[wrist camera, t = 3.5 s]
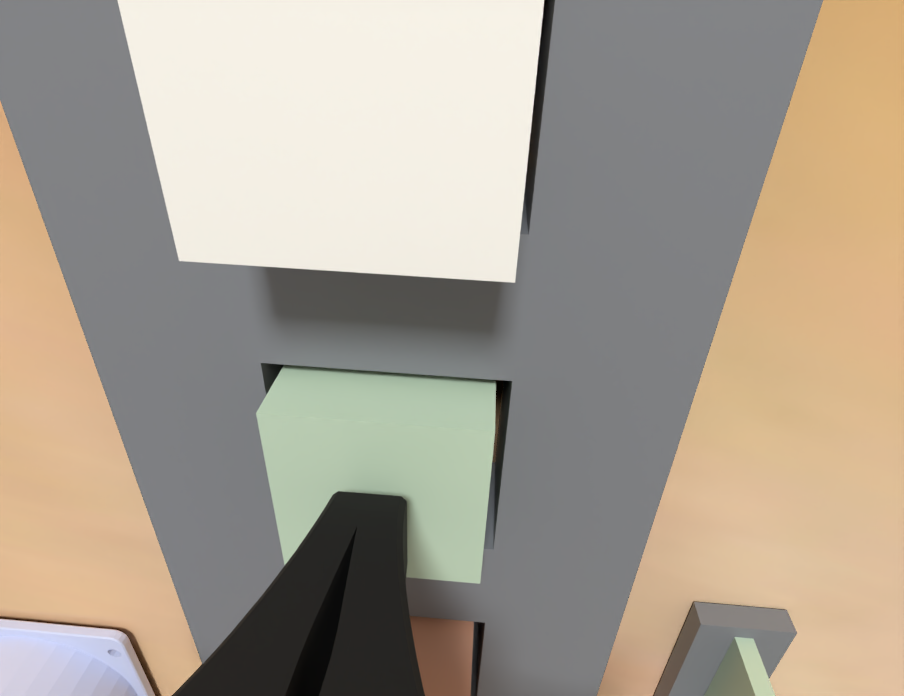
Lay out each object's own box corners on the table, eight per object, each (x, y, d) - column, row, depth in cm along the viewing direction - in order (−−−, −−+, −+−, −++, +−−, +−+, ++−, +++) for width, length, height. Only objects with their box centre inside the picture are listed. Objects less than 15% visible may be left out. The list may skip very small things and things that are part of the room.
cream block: (511, 189, 11) (514, 282, 7) (279, 175, 11) (179, 261, 8) (538, -111, 8) (561, -177, 5) (241, -121, 9) (72, -192, 5)
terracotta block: (468, 662, 19) (461, 806, 16) (338, 650, 19) (304, 789, 16) (475, 580, 17) (468, 728, 14) (328, 567, 17) (285, 709, 14)
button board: (566, 673, 22) (574, 763, 19) (256, 643, 22) (225, 728, 20) (831, -344, 8) (984, -497, 5) (-2, -357, 8) (-215, -501, 6)
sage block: (484, 458, 16) (479, 583, 13) (329, 446, 16) (284, 566, 13) (497, 322, 14) (495, 431, 10) (316, 310, 14) (255, 413, 11)
